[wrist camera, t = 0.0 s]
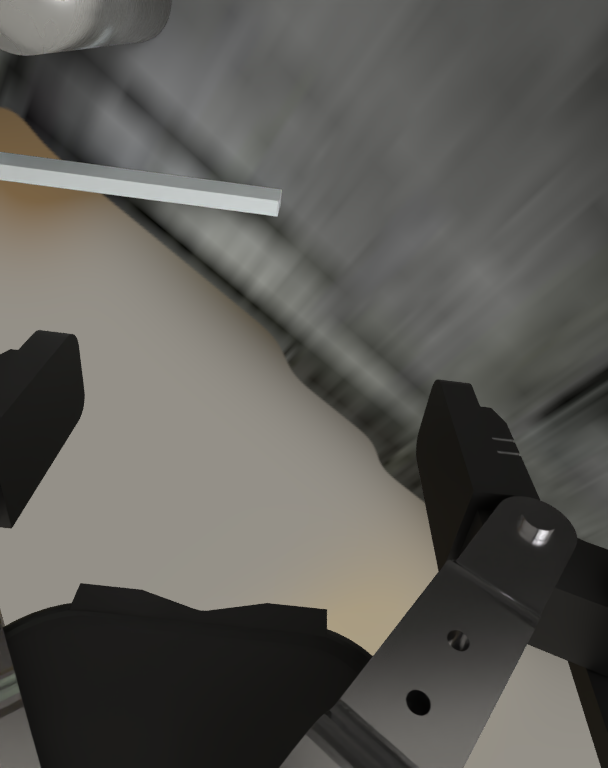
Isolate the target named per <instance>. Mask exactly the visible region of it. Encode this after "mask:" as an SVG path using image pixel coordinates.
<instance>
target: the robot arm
mask: <svg viewBox="0 0 608 768" xmlns="http://www.w3.org/2000/svg"><path fill="white" fill-rule="evenodd" d="M84 396H85V394H84V385H83V377H82V368H81V360H80V352H79V344H78V340H77V338H76V336H75V335H73V334H66V333H58V332H49V331H42V330H38V331H36V332H35V333H34V334H33V335H32V336H31V337H30V338H29V339H28V340H27V341H26V342H25V343H24V344H23V345H22V347H21V348H20V349H19V350H12V349H10V350H8V351H6V352H4V353H2V354H0V527H3V528H12V527H13V525H14V524H15V522H16V521H17V519H18V517H19V516H20V514H21V513H22V511H23V509H24V508H25V506H26V505H27V503H28V501H29V500H30V498H31V497H32V495H33V493H34V491H35V490H36V488H37V487H38V485H39V484H40V482H41V480H42V479H43V477H44V476H45V474H46V472H47V471H48V469H49V467H50V466H51V464H52V463H53V461H54V460H55V458H56V456H57V454H58V453H59V452H60V450H61V448H62V447H63V445H64V443H65V442H66V440H67V439H68V437H69V435H70V434H71V432H72V431H73V429H74V427H75V426H76V424H77V423H78V421H79V419H80V417H81V414H82V411H83V407H84ZM513 440H514V439H513V437H512V435H511V433H510V430H509V428H508V426H507V424H506V422H505V421H504V420H503V419H502V418H501V417H500V416H499V415H498V414H497V413H496V412H495V411H494V410H493V409H492V408H487V407H480V405H479V403H478V400H477V398H476V395H475V393H474V390H473V387H472V385H471V384H469V383H462V382H454V381H445V380H436V381H435V382H434V384H433V386H432V389H431V393H430V396H429V399H428V403H427V406H426V409H425V413H424V416H423V419H422V423H421V426H420V429H419V433H418V437H417V444H416V459H417V465H418V470H419V475H420V480H421V485H422V490H423V495H424V500H425V505H426V510H427V515H428V520H429V525H430V530H431V535H432V540H433V545H434V550H435V555H436V560H437V565H438V571H439V572H438V573H437V575H436V576H435V577H434V578H433V580H432V581H431V582H430V584H429V585H428V586H427V587H426V589H425V590H424V591H423V593H422V594H421V595H420V596H419V598H418V599H417V600H416V602H415V603H414V604H413V606H412V607H411V608H410V609H409V611H408V612H407V613H406V614H405V616H404V617H403V618H402V620H401V621H400V622H399V623H398V625H397V626H396V627H395V629H394V630H393V631H392V632H391V634H390V635H389V636H388V638H387V639H386V640H385V641H384V643H383V644H382V645H381V647H380V648H379V649H378V651H377V652H376V653H375V655H374V656H372V655H370V654H369V653H368V652H367V651H366V650H364V649H363V648H362V647H361V646H359V645H358V644H356V643H354V642H353V641H351V640H350V639H348V638H346V637H344V636H342V635H340V634H338V633H336V632H333V631H331V630H328V629H327V610H326V609H317V608H307V607H298V606H288V605H279V604H270V603H265V604H257V605H250V606H242V607H234V608H226V609H218V610H210V611H200V610H196V609H193V608H190V607H187V606H185V605H182V604H179V603H176V602H174V601H171V600H168V599H165V598H163V597H160V596H157V595H154V594H152V593H149V592H146V591H144V590H138V589H129V588H120V587H119V588H118V587H109V586H101V585H91V584H82V583H81V584H80V586H79V588H78V590H77V592H76V595H75V597H74V599H73V602H72V603H69V604H63V605H58V606H54V607H50V608H47V609H43V610H41V611H37V612H34V613H31V614H29V615H27V616H25V617H22V618H20V619H18V620H16V621H14V622H12V623H10V624H8V625H6V626H5V625H4V621H3V617H2V614H1V610H0V768H463V767H464V765H465V763H466V761H467V760H468V758H469V755H470V754H471V752H472V750H473V748H474V746H475V744H476V742H477V740H478V738H479V736H480V734H481V732H482V730H483V728H484V727H485V725H486V723H487V721H488V719H489V717H490V715H491V713H492V711H493V709H494V707H495V705H496V703H497V701H498V700H499V698H500V696H501V694H502V692H503V690H504V688H505V686H506V684H507V682H508V680H509V678H510V676H511V674H512V672H513V670H514V669H515V667H516V665H517V663H518V660H519V659H520V657H521V655H522V653H523V651H524V649H525V647H526V645H527V644H528V645H531V646H533V647H536V648H538V649H541V650H543V651H545V652H548V653H550V654H553V655H555V656H558V657H560V658H563V659H565V660H567V661H568V663H569V666H570V670H571V672H572V676H573V679H574V682H575V685H576V689H577V692H578V695H579V698H580V701H581V705H582V708H583V711H584V714H585V718H586V721H587V724H588V727H589V730H590V734H591V737H592V740H593V743H594V746H595V750H596V752H597V756H598V759H599V762H600V765H601V768H608V550H607V549H605V548H602V547H599V546H596V545H593V544H591V543H588V542H585V541H583V540H581V539H579V538H577V534H576V531H575V529H574V527H573V525H572V524H571V522H570V521H569V520H568V519H567V518H566V517H565V516H564V515H563V514H562V513H561V512H560V511H558V510H557V509H556V508H554V507H552V506H551V505H549V504H547V503H545V502H543V501H540V499H539V496H538V494H537V492H536V490H535V487H534V485H533V483H532V480H531V478H530V476H529V474H528V471H527V469H526V467H525V465H524V462H523V460H522V458H521V456H519V451H518V449H517V446H516V444H515V443H513Z"/></svg>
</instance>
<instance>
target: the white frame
mask: <svg viewBox="0 0 608 768" xmlns="http://www.w3.org/2000/svg"><path fill="white" fill-rule="evenodd" d="M0 180H4V181H12V182H19V183H27V184H35V185H42V186H50V187H57V188H65V189H73V190H81V191H89V192H95V193H103V194H111V195H118V196H126V197H133V198H141V199H149V200H156V201H164V202H171V203H179V204H187V205H194V206H202V207H210V208H217V209H225V210H232V211H240V212H248V213H255V214H263V215H270V216H278V212H279V208H280V205H281V195H282V189H275V188H268V187H260V186H253V185H245V184H238V183H230V182H223V181H215V180H208V179H200V178H193V177H185V176H178V175H170V174H163V173H155V172H148V171H140V170H132V169H125V168H117V167H110V166H102V165H95V164H87V163H80V162H72V161H65V160H57V159H49V158H42V157H34V156H27V155H20V154H12V153H5V152H0Z"/></svg>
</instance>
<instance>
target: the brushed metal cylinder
mask: <svg viewBox="0 0 608 768" xmlns="http://www.w3.org/2000/svg"><path fill="white" fill-rule="evenodd" d="M170 10H171V0H0V49H1V50H3V51H6V52H9V53H12V54H17V55H26V56H29V55H39V54H47V53H55V52H63V51H72V50H80V49H88V48H96V47H105V46H113V45H121V44H130V43H138V42H144V41H148V40H150V39H152V38H154V37H156V36H157V35H158V34H159V33H160V32H161V31H162V30H163V28H164V27H165V25H166V23H167V21H168V19H169V15H170Z"/></svg>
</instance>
